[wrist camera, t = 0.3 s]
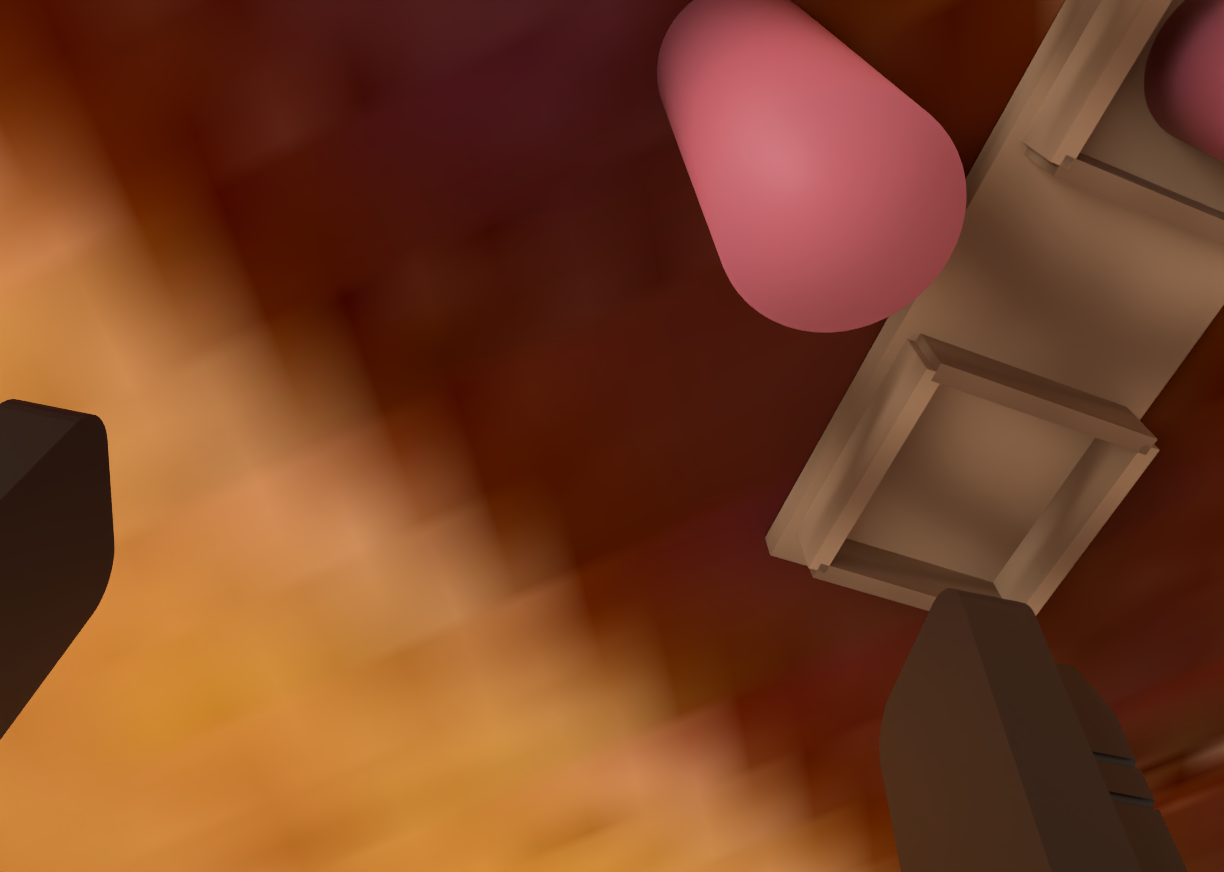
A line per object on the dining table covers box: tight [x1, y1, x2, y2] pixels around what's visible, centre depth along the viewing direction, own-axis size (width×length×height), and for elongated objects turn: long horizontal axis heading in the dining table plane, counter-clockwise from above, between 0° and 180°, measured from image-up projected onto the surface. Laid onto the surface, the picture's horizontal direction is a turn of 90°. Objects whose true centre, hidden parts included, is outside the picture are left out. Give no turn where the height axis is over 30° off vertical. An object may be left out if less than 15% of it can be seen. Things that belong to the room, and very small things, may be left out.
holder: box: [765, 0, 1224, 616], centre depth 31 cm, size 24×9×3 cm, turn 159°
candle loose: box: [657, 0, 967, 332], centre depth 24 cm, size 4×4×12 cm
